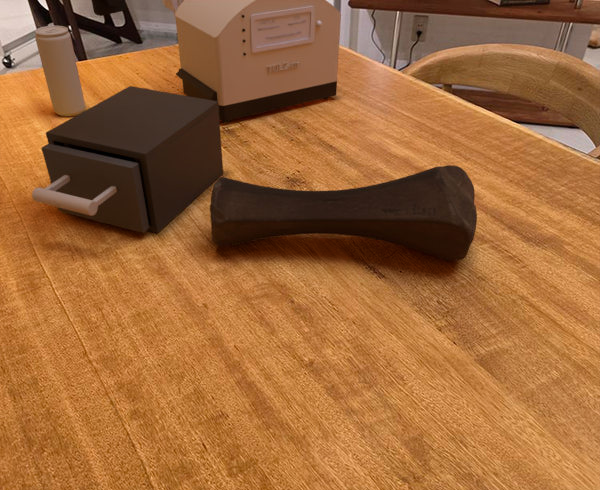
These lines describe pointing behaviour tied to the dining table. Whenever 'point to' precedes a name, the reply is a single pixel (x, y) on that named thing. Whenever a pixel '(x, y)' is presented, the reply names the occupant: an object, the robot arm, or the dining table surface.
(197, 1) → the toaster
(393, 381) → the dining table surface
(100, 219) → the dark grey drawer
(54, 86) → the beverage can
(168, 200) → the dark brown drawer cabinet
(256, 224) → the dark brown bone
